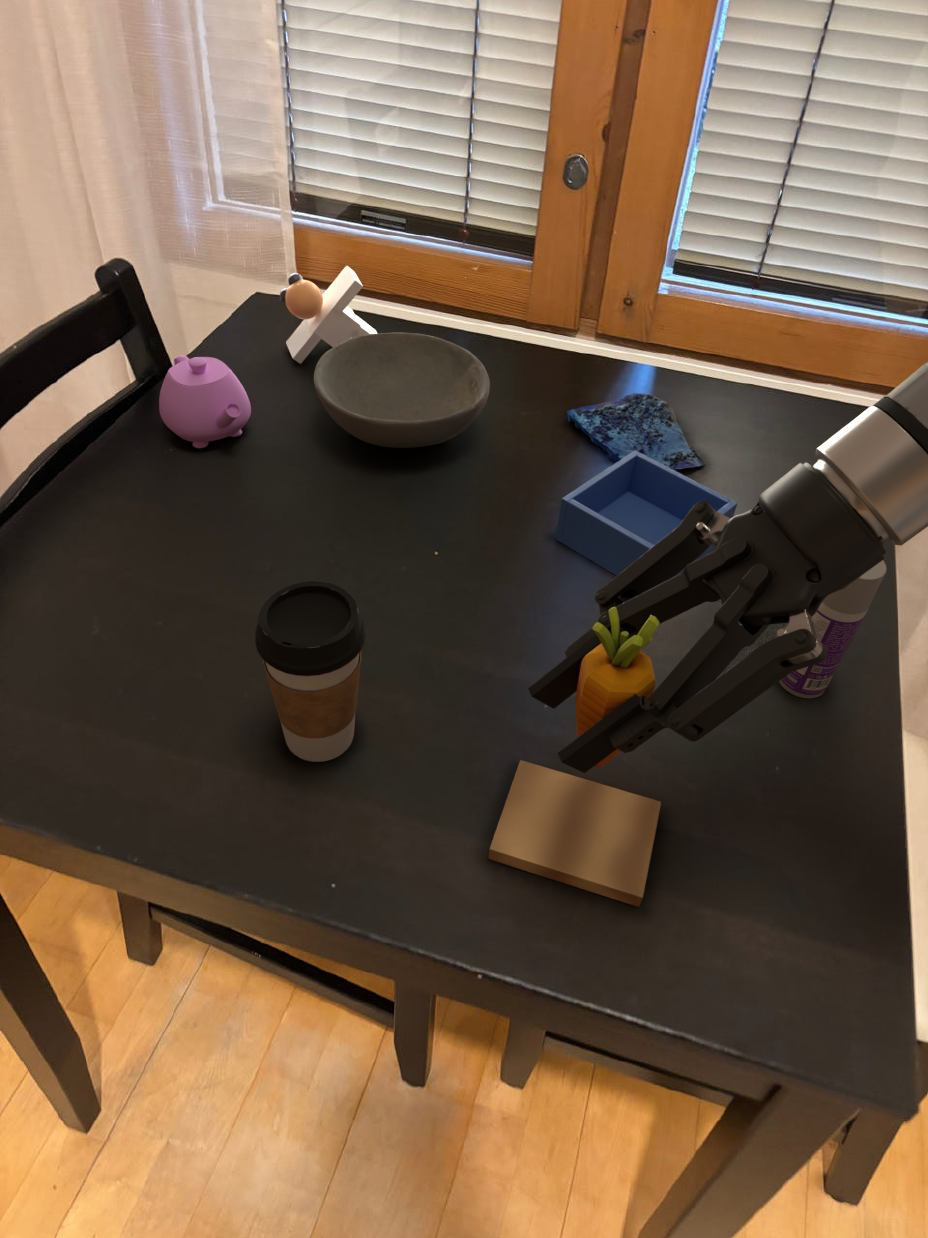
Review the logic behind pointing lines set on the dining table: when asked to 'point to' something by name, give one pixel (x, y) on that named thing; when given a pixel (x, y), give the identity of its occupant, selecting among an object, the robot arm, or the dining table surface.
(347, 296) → the figurine
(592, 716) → the carrot
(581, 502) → the bin
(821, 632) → the container
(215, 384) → the teapot
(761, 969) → the dining table surface
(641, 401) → the blue flat piece
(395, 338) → the bowl
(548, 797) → the board
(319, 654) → the coffee cup
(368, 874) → the dining table surface
